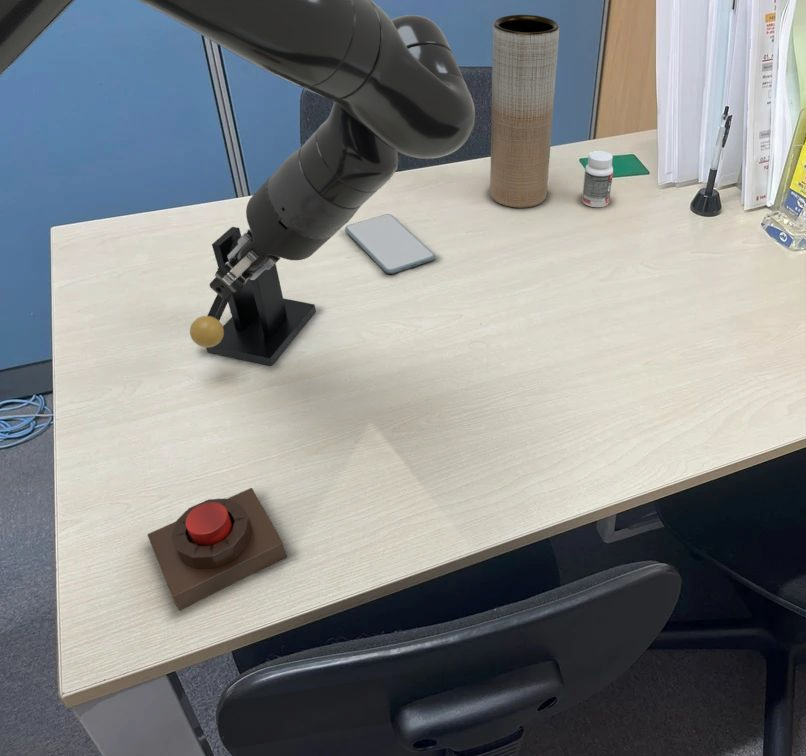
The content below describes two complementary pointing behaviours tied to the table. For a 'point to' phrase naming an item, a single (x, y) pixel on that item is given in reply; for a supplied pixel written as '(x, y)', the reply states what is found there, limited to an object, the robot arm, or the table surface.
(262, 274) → the latch bracket
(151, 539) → the block
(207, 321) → the latch lever
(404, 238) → the smartphone
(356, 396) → the table surface
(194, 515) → the release button
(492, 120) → the vase
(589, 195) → the pill bottle
